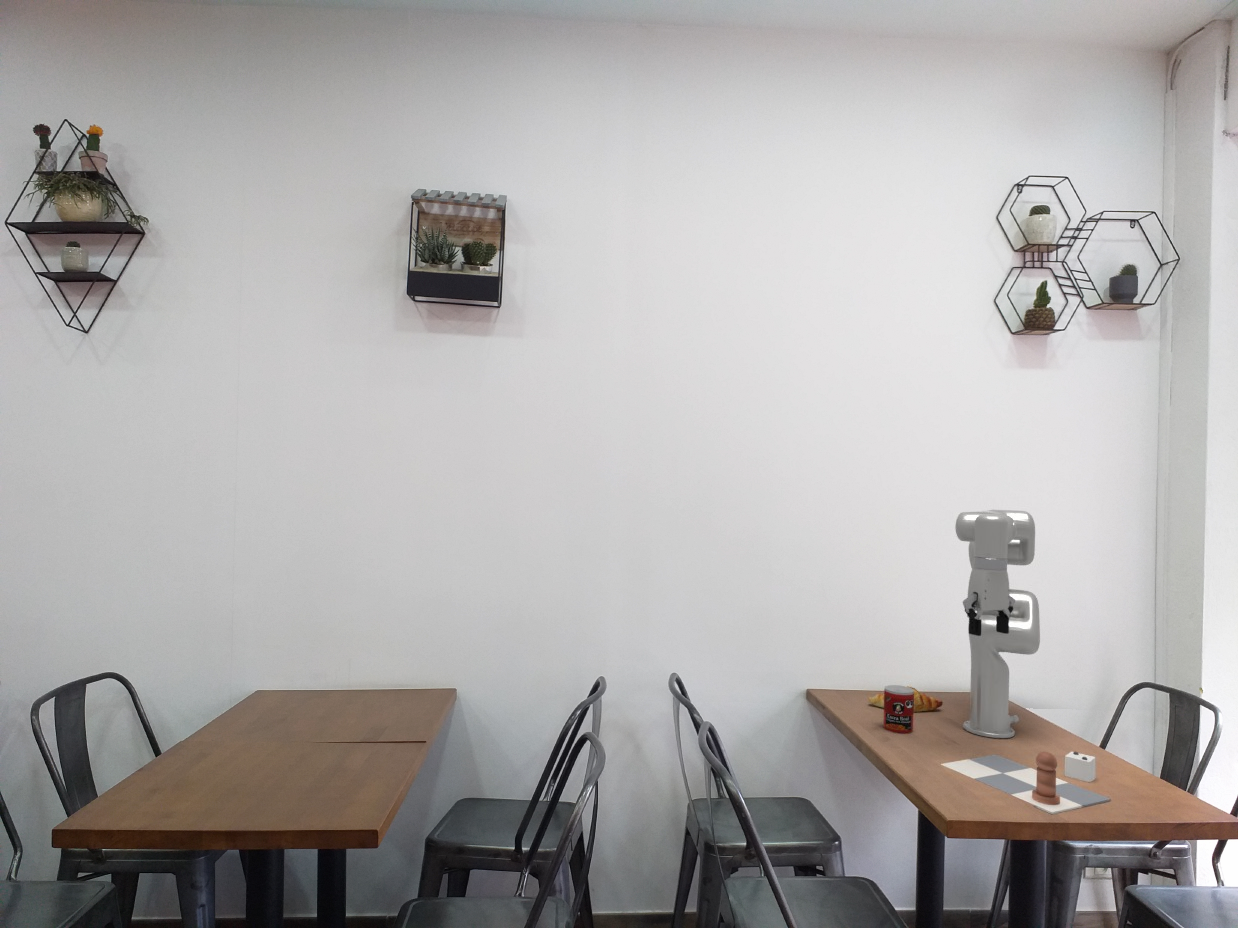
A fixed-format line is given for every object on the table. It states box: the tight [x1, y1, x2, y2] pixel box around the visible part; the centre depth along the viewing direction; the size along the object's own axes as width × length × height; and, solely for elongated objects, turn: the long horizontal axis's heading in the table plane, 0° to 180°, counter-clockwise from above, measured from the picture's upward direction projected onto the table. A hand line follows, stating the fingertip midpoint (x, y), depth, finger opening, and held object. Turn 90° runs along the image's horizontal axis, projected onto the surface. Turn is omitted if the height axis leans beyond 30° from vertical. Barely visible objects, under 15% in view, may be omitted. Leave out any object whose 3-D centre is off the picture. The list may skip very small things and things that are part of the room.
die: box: [1064, 751, 1097, 783], centre depth 178 cm, size 5×5×6 cm
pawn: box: [1032, 751, 1060, 805], centre depth 164 cm, size 5×5×10 cm
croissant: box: [868, 685, 944, 713], centre depth 231 cm, size 21×10×8 cm, turn 83°
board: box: [939, 754, 1112, 815], centre depth 174 cm, size 19×28×1 cm, turn 25°
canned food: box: [883, 684, 915, 734], centre depth 210 cm, size 8×8×11 cm
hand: (988, 633), depth 191 cm, fingers open, 9 cm apart
